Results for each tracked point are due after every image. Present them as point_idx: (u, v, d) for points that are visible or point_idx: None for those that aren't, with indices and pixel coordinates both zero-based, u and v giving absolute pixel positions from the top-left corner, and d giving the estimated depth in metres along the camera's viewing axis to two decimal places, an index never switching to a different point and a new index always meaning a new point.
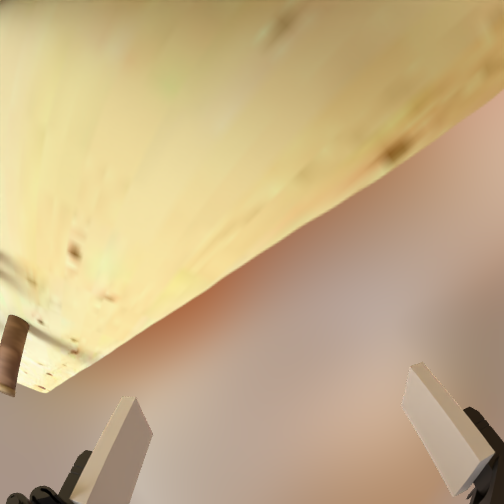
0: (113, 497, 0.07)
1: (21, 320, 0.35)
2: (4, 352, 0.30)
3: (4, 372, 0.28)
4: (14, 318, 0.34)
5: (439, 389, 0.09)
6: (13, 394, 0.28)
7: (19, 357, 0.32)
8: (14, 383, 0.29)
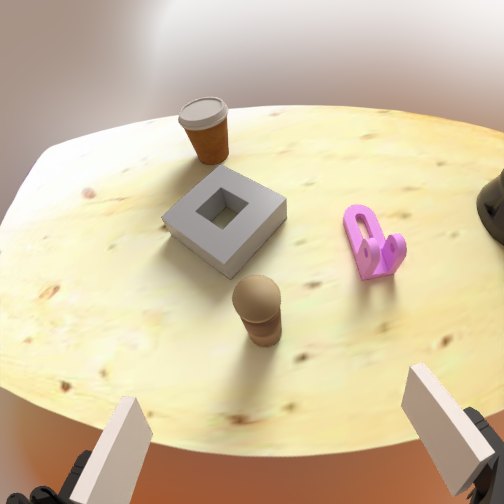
0: (113, 497, 0.07)
1: None
2: None
3: None
4: None
5: (439, 389, 0.09)
6: (267, 317, 0.27)
7: (271, 333, 0.32)
8: (269, 321, 0.28)
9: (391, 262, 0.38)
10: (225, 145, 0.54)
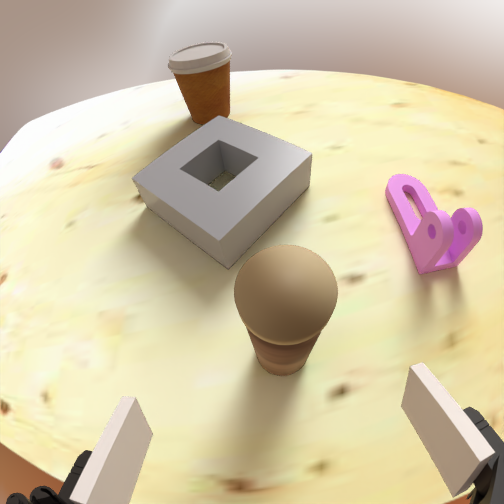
0: (113, 497, 0.07)
1: None
2: None
3: None
4: None
5: (439, 389, 0.09)
6: (310, 334, 0.12)
7: (301, 358, 0.17)
8: (308, 341, 0.13)
9: (460, 247, 0.23)
10: (226, 99, 0.40)
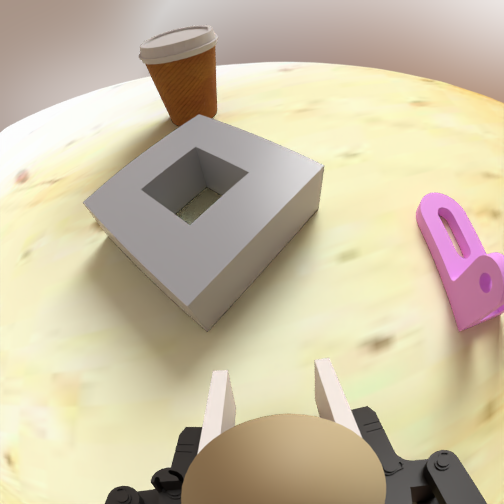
0: None
1: None
2: None
3: None
4: None
5: (334, 384, 0.11)
6: None
7: None
8: None
9: None
10: (211, 95, 0.31)
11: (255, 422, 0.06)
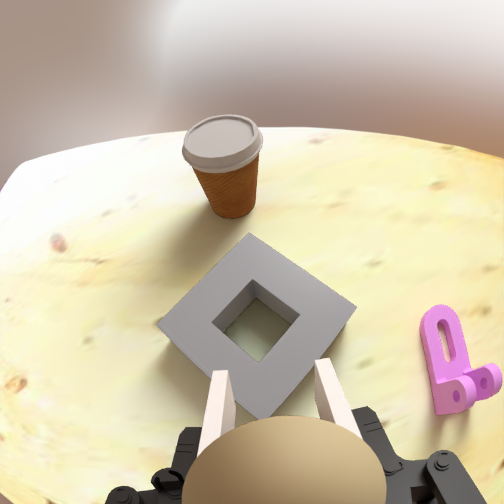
0: None
1: None
2: None
3: None
4: None
5: (334, 384, 0.11)
6: None
7: None
8: None
9: (477, 396, 0.21)
10: (253, 192, 0.37)
11: (256, 424, 0.05)
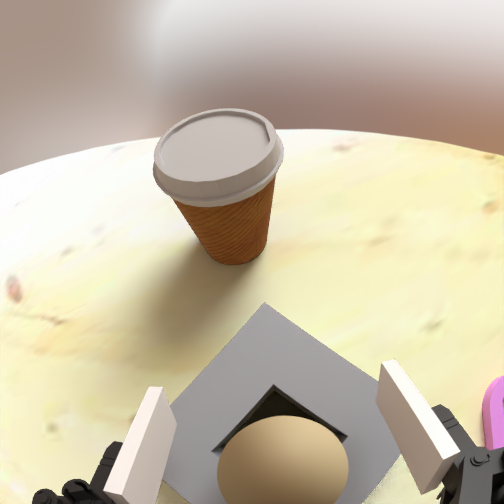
0: (145, 487, 0.08)
1: None
2: None
3: None
4: None
5: (408, 385, 0.10)
6: None
7: None
8: None
9: None
10: (265, 228, 0.25)
11: (264, 421, 0.09)
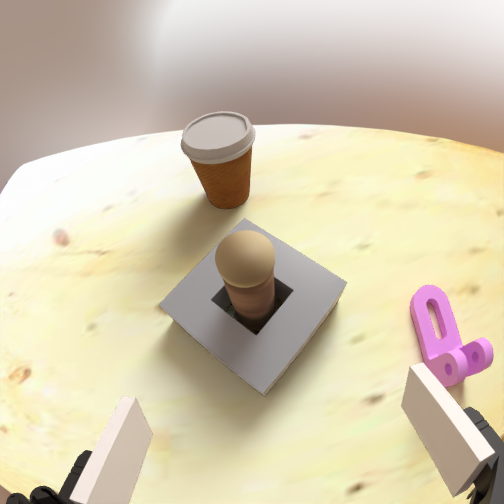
0: (113, 497, 0.07)
1: None
2: None
3: None
4: None
5: (439, 389, 0.09)
6: (257, 279, 0.21)
7: (263, 308, 0.27)
8: (260, 288, 0.23)
9: (469, 371, 0.23)
10: (247, 183, 0.40)
11: (236, 232, 0.23)
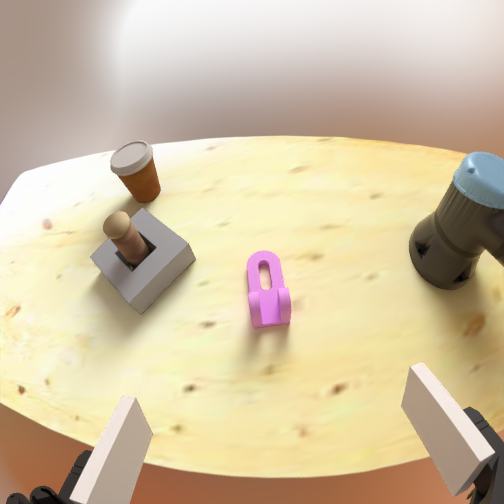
0: (113, 497, 0.07)
1: None
2: (142, 240, 0.47)
3: (135, 232, 0.43)
4: None
5: (439, 389, 0.09)
6: (118, 234, 0.40)
7: (135, 256, 0.46)
8: (123, 240, 0.42)
9: (280, 314, 0.42)
10: (153, 185, 0.58)
11: (115, 212, 0.42)
